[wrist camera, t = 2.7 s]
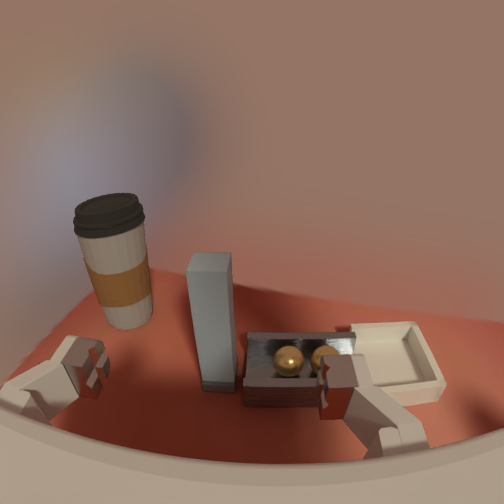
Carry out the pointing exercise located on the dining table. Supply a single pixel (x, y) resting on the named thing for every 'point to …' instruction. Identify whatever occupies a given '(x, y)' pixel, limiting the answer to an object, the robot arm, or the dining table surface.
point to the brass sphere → (288, 361)
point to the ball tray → (399, 361)
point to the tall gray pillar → (213, 319)
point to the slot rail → (279, 387)
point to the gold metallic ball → (319, 352)
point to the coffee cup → (116, 257)
